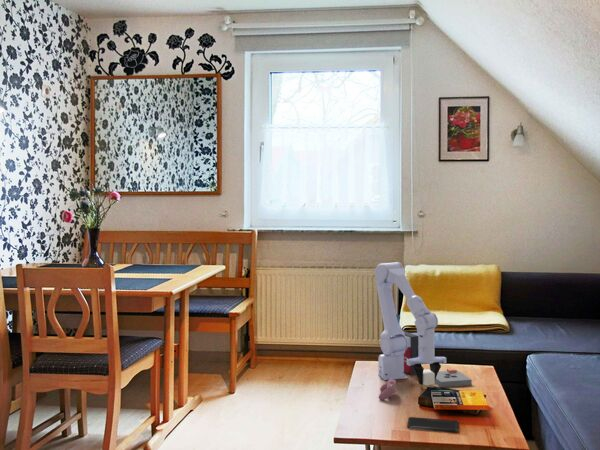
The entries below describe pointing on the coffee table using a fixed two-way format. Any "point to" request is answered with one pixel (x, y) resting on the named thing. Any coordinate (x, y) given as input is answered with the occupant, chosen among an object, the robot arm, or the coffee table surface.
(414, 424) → the phone
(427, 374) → the white rectangular box
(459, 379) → the socket
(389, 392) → the pink lumpy figure
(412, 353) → the dark grey red box
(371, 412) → the coffee table surface
